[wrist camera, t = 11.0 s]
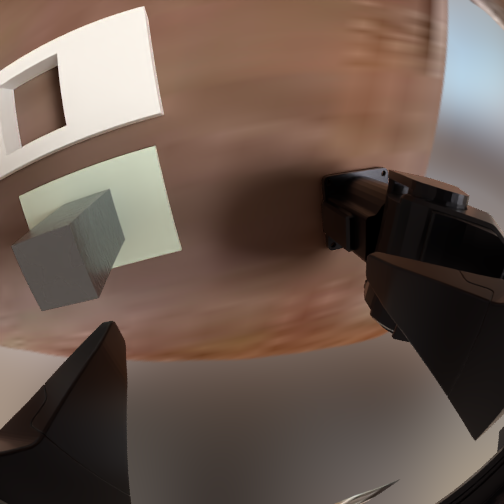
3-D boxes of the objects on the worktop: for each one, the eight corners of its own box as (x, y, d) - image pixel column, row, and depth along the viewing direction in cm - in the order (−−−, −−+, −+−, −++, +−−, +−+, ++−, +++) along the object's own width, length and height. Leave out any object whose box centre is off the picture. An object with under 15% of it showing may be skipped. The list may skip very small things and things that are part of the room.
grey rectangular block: (109, 188, 18) (68, 224, 11) (125, 239, 20) (98, 298, 13) (64, 204, 18) (11, 246, 10) (80, 252, 19) (41, 311, 12)
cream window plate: (148, 19, 14) (144, 6, 12) (163, 115, 17) (160, 112, 15) (-22, 100, 12) (-38, 100, 10) (-8, 184, 15) (-24, 191, 13)
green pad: (155, 145, 18) (154, 145, 18) (181, 247, 22) (181, 250, 21) (21, 194, 17) (18, 196, 16) (54, 281, 20) (52, 284, 20)
